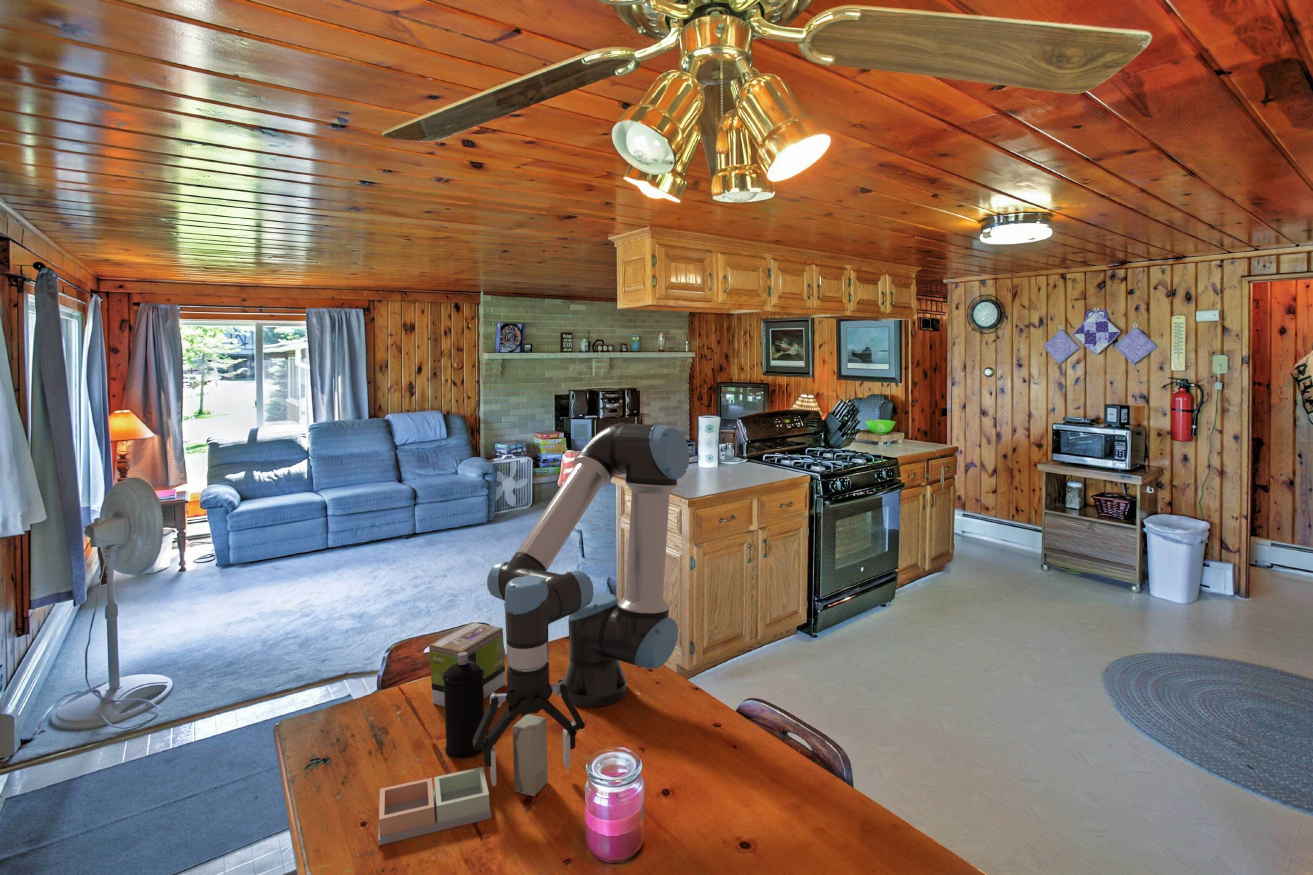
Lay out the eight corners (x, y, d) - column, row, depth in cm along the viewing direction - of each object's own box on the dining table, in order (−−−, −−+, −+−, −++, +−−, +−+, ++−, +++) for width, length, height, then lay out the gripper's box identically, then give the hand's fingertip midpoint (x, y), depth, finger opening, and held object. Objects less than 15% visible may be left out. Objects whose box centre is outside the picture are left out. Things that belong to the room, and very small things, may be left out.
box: (529, 776, 127) (527, 712, 126) (549, 781, 125) (547, 716, 124) (513, 792, 122) (511, 726, 121) (533, 798, 120) (531, 731, 119)
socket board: (484, 784, 124) (483, 764, 124) (491, 818, 115) (490, 796, 115) (380, 807, 118) (378, 786, 118) (378, 845, 109) (377, 822, 108)
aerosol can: (475, 761, 132) (471, 664, 130) (437, 756, 134) (433, 660, 131) (493, 738, 140) (490, 646, 138) (457, 734, 142) (453, 643, 139)
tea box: (474, 677, 168) (472, 620, 167) (506, 685, 164) (505, 626, 162) (430, 704, 155) (428, 642, 153) (464, 713, 150) (461, 650, 149)
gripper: (589, 644, 129) (590, 748, 131) (454, 665, 120) (459, 776, 122) (600, 660, 122) (601, 769, 124) (458, 684, 113) (462, 801, 115)
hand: (530, 773), depth 123 cm, fingers open, 13 cm apart
